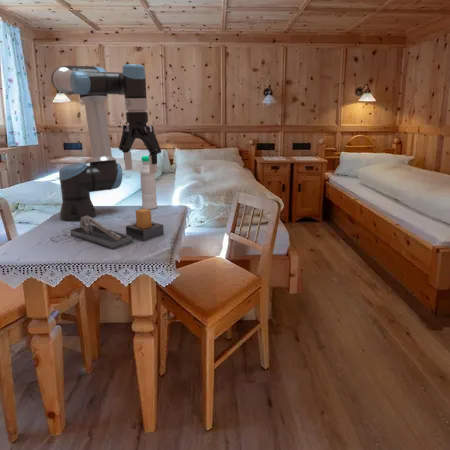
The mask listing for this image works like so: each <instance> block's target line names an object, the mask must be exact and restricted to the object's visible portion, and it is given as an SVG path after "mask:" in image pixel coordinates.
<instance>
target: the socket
mask: <svg viewBox="0 0 450 450" xmlns="http://www.w3.org/2000/svg"><path fill="white" fill-rule="evenodd" d="M151 222H152V226H151V227H148V228H144V229H143V228H139V227H137V223H135V222H134V223H132V224H129V225H125V232H126V234H125V235H128V236H131V237H133V240H134V239H135V240H139V241H142V242H145V241H146V242H147V241H149V240H151V239H155V238H157V237H161V236H163V235H164V234H165V231H164V224H162V223H158V222H154V221H151Z"/></svg>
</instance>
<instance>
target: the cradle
mask: <svg viewBox="0 0 450 450" xmlns="http://www.w3.org/2000/svg"><path fill="white" fill-rule="evenodd" d="M87 225H88V226H89V224H87ZM90 226H92V228H91V229H93V231H92V230H91V232H92V233H91V232H90V231H89V234H88V233H87V232H86V231H85V230H86V229H85V230H84V229H83V228H82V227H80V226H79V227H76V228H72V229H70V231H69V232H70V236H71V237H75V238H77V239H80V240H81V241H82V240H83V241H85V242H89V243H91V244H95V245H98V246H101V247H103V248H107V249H110V250H111V251H112V250H115V249H119V248H122V247H124V246H128V245H130V244H133V243H134V241H133V240H134V238H133V237H131V236H128V235H126V234H124V233H121V232H117V231H114V230H111V231H112V232H114V233H116V234H117V235H119V236H121V238H120V240H118V241H117V240H116V239H114V238H113V237H111V236H110V235H108V234H107V233H105V232H104V231H102V230H101V229H99V228H98V227H96V226H95V225H93V224H91V225H90ZM84 227H85V226H84ZM85 228H86V227H85ZM87 229H88V228H87ZM111 234H112V233H111ZM113 235H114V234H113ZM114 236H115V235H114ZM115 237H117V236H115ZM117 238H118V237H117Z"/></svg>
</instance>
